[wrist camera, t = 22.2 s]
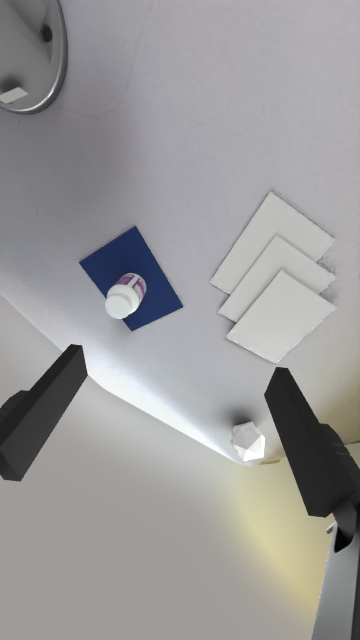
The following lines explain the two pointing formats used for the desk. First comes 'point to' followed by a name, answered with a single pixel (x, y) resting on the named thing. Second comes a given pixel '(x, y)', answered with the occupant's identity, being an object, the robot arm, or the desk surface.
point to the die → (248, 441)
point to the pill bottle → (125, 295)
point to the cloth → (138, 259)
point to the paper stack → (275, 280)
